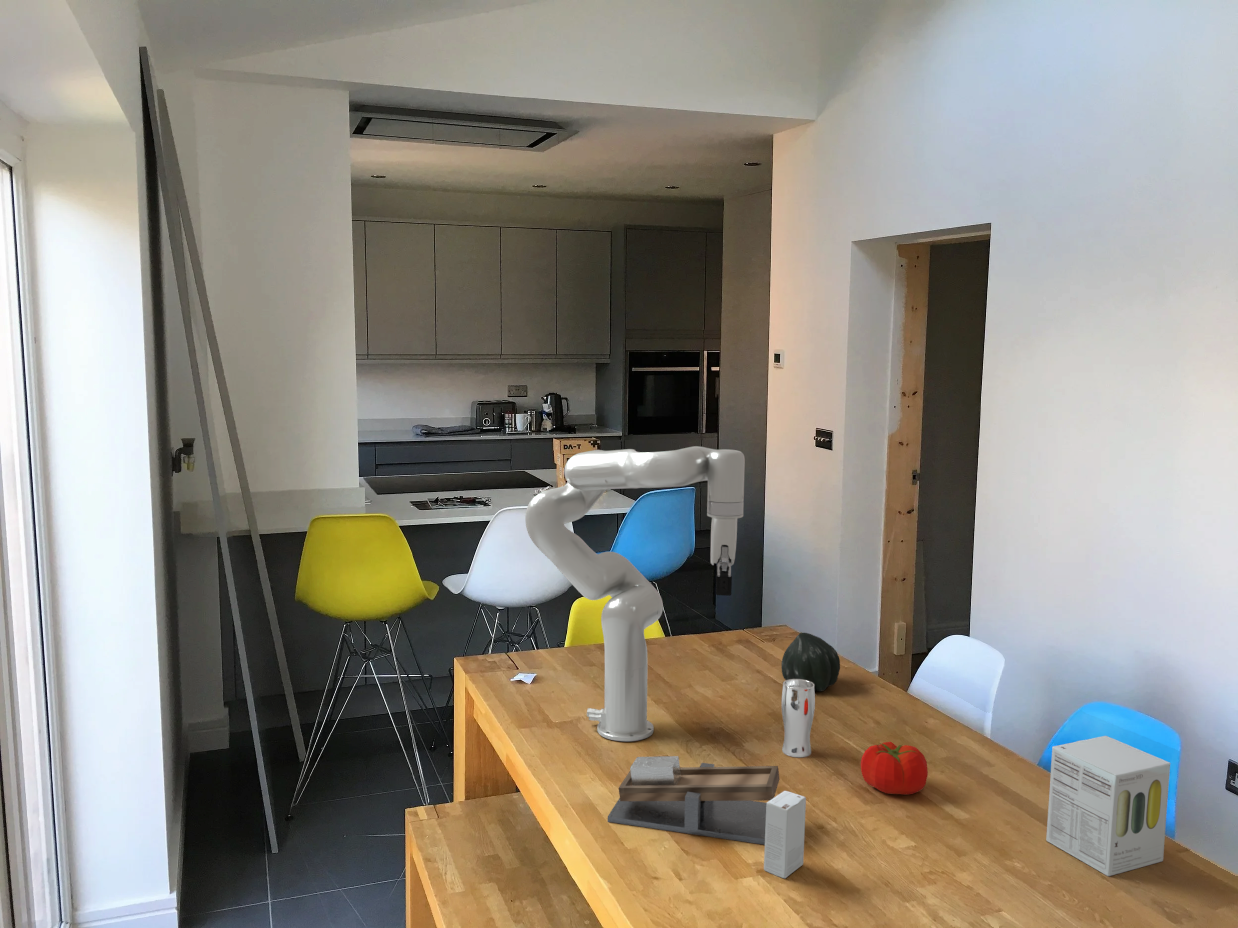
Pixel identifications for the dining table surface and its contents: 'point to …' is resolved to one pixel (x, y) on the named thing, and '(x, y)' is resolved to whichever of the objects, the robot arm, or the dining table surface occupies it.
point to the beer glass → (797, 716)
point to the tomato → (894, 768)
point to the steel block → (655, 771)
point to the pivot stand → (697, 816)
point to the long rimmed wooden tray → (709, 785)
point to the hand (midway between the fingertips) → (723, 589)
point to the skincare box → (784, 834)
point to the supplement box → (1108, 804)
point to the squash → (811, 661)
